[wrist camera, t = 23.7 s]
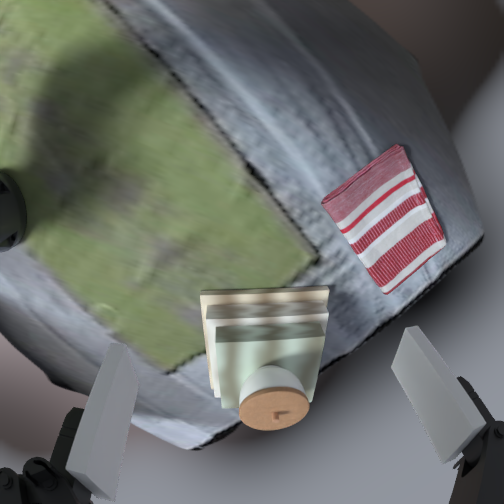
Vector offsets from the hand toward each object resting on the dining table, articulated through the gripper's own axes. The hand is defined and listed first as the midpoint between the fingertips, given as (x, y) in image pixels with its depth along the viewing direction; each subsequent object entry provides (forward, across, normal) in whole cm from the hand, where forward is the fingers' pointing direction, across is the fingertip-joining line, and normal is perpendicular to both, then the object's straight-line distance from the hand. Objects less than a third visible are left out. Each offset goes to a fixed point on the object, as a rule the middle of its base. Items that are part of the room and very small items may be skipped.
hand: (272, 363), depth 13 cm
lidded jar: (+25, +4, -29) cm, 39 cm away
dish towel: (+36, +26, -6) cm, 44 cm away
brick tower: (+35, +4, -29) cm, 45 cm away
